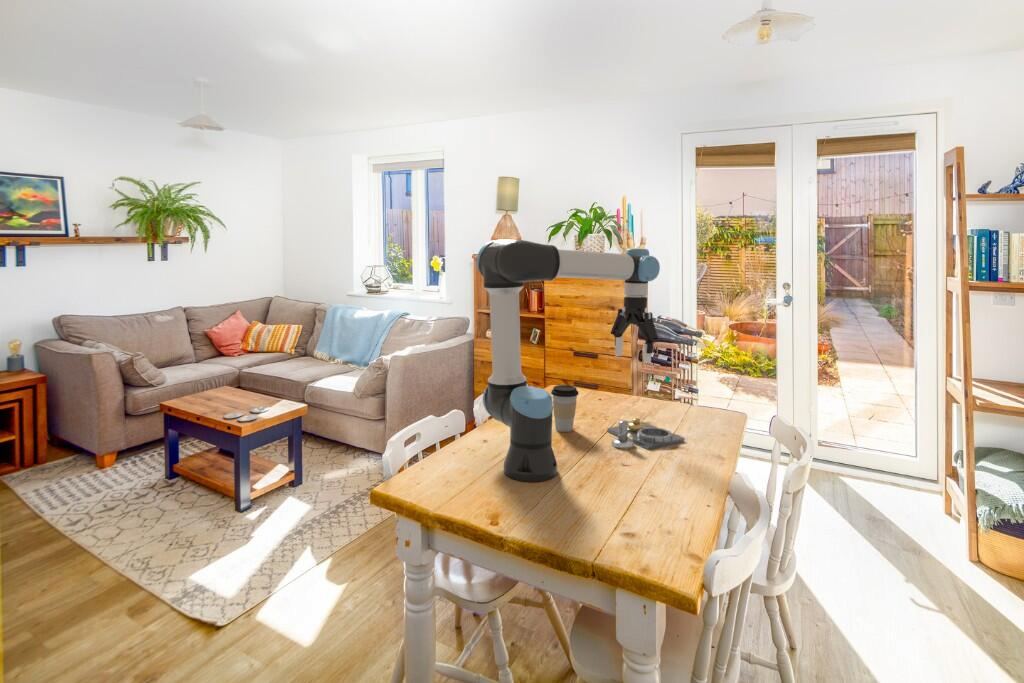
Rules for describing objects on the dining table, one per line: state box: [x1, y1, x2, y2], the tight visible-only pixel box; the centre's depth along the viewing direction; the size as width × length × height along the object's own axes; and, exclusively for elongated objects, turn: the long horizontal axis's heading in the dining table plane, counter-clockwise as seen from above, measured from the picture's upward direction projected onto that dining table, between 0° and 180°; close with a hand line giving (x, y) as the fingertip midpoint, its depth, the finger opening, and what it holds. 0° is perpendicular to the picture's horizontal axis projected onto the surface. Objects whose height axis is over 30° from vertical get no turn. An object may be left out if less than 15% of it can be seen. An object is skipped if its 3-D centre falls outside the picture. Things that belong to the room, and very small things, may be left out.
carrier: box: [607, 417, 685, 450], centre depth 191 cm, size 16×20×5 cm
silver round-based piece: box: [610, 419, 635, 450], centre depth 182 cm, size 7×7×8 cm
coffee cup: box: [550, 384, 579, 433], centre depth 196 cm, size 9×9×15 cm
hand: (632, 359), depth 190 cm, fingers open, 13 cm apart
